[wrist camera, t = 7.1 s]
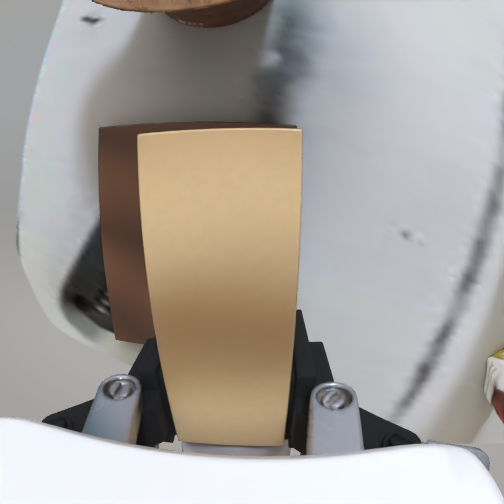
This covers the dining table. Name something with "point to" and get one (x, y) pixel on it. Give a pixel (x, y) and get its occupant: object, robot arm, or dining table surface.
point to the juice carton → (495, 383)
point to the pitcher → (193, 9)
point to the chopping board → (132, 222)
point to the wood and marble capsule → (224, 280)
